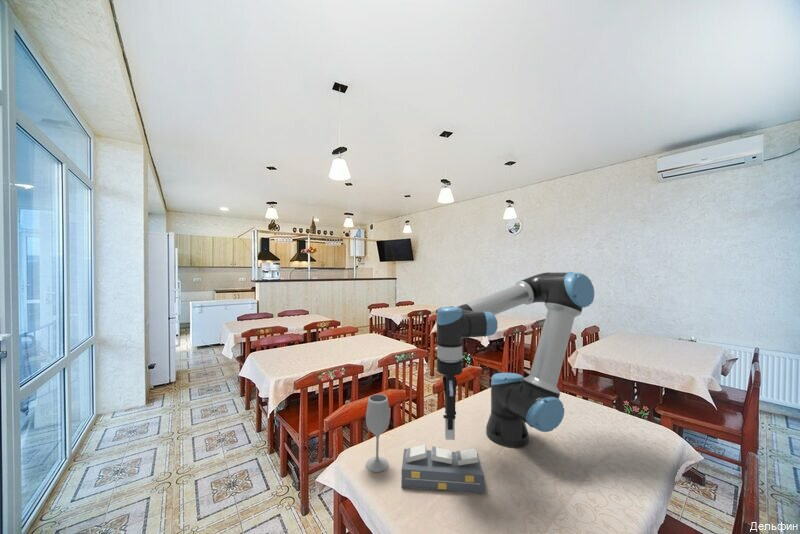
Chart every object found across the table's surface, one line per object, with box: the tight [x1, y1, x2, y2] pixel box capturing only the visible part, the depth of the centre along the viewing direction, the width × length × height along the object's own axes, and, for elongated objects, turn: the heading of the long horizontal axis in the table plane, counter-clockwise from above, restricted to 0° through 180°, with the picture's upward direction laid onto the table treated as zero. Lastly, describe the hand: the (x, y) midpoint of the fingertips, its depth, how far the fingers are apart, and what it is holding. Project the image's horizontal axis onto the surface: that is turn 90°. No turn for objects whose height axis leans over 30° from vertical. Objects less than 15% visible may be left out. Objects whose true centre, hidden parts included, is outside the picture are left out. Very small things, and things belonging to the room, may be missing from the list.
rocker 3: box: [455, 448, 480, 466], centre depth 88 cm, size 6×4×2 cm
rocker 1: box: [406, 444, 428, 463], centre depth 89 cm, size 6×4×2 cm
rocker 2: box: [430, 446, 453, 464], centre depth 88 cm, size 6×4×2 cm
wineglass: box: [365, 393, 391, 473], centre depth 94 cm, size 8×8×21 cm
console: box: [400, 448, 485, 494], centre depth 88 cm, size 23×10×5 cm, turn 85°
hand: (449, 438), depth 88 cm, fingers closed
